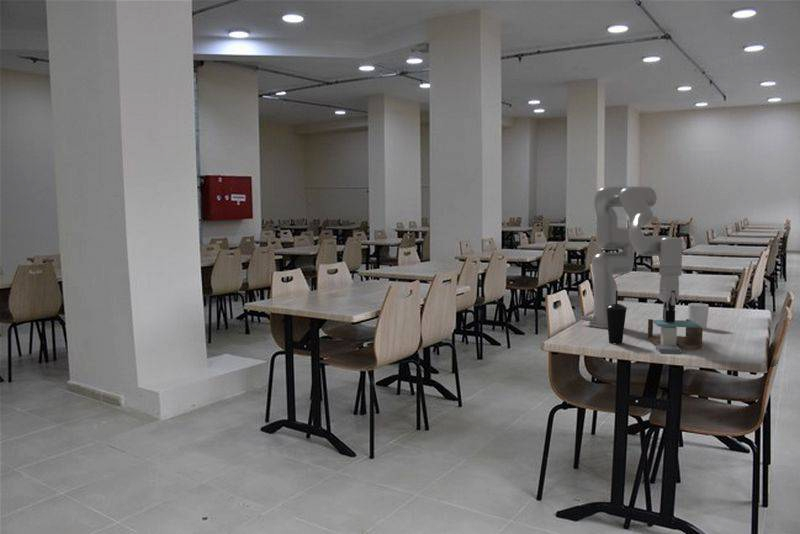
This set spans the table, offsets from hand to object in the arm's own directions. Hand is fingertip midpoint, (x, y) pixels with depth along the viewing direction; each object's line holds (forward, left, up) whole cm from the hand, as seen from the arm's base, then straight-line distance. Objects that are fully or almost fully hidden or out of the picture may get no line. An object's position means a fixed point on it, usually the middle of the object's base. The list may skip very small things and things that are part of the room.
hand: (668, 320), depth 244 cm
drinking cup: (-18, +4, -10) cm, 21 cm away
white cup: (+21, +39, -10) cm, 46 cm away
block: (0, 0, -10) cm, 10 cm away
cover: (+2, 0, -2) cm, 3 cm away
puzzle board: (+3, +5, -10) cm, 11 cm away
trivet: (-2, -9, -10) cm, 13 cm away
